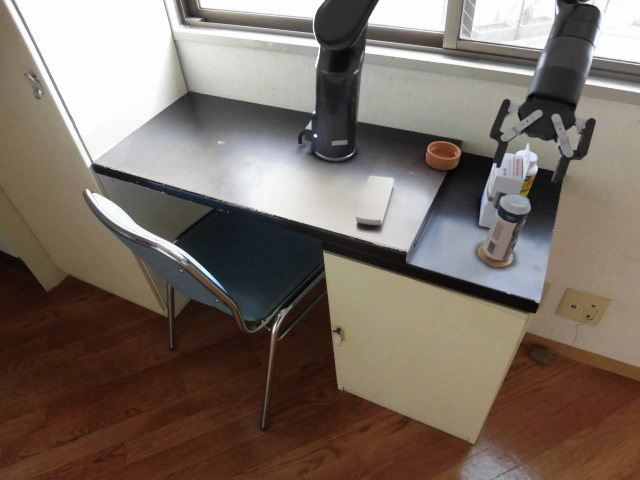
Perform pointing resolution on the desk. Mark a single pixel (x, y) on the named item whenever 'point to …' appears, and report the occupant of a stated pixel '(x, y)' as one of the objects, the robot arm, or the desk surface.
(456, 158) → the terracotta bowl
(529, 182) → the supplement bottle
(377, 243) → the desk surface
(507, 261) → the coaster
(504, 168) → the ink box
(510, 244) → the cylindrical canister
